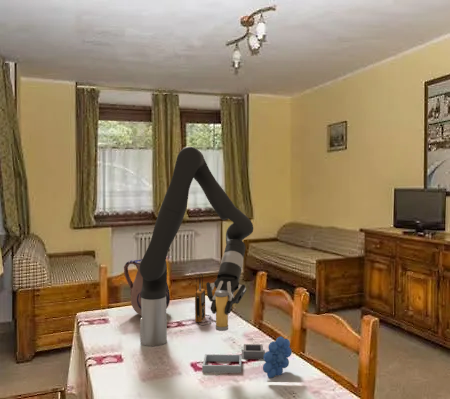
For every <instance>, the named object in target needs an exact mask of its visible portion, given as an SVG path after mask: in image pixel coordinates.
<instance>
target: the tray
mask: <svg viewBox="0 0 450 399" xmlns="http://www.w3.org/2000/svg"><path fill="white" fill-rule="evenodd" d="M207 362H237V363H238V365H235V364H234V365H233V364H231V365H230V364H229V365H227V364H224V365H223V364H222V365H221V364H220V365H219V364H207ZM201 366H202V368H201V370H202V371H201V372H202V373H220V374H221V373H225V374H226V373H227V374H228V373H229V374H231V373H232V374H237V373H238V374H241V373H242V354H221V353H220V354H215V353H212V354H211V353H209V354H207V353H205V354H204V358H203V361H202V365H201Z"/></svg>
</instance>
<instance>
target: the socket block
mask: <svg viewBox="0 0 450 399" xmlns="http://www.w3.org/2000/svg"><path fill="white" fill-rule="evenodd" d="M265 351H266V350H265V349H264V345H263V344H262V343H261V344H259V343H258V344H256V343H255V344H253V343H251V344H250V343H249V344H248V343H244V344H243V349H241V360H264V358H263V357H264V354H265V353H266V352H265Z"/></svg>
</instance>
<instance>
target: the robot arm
mask: <svg viewBox="0 0 450 399" xmlns="http://www.w3.org/2000/svg"><path fill="white" fill-rule="evenodd" d="M193 180H195V181H196V183H197V184H198V185H199V186H200V188H201V189H202V192H203V193H204V195H205V197H206V198H207V200H208V203H209V204H210V206H211V207H212V209H213V210H214V211H215V213H216V215H217V216H218V218H220V219H221V220H222V221H226V220H230V221H231V222H232V223H231V224H230V225H229V226H228V227H227V229H226V231H225V248H224V252H223V254H222V256H221V261H220V264H219V269H218V273H217V276H216V279H215V280H214V282H211V283H210V282H209V281H208V282H206V285H205V286H206V293H207V298H208V299H209V300H208V301H209V302H211V305H210V311H211V313H212V314H213V315H216V296H215V293H214V294H213V291H214V289H215V291H217V290H226V291H228V301H227V304H226V308H225V314H226V315H228V316H229V314H231V312H232V308H233V305H234V304H236V305H237V304H239V303H240V302H241V299H242V298H243V297H244V295H245V294H246V292H247V288H246V285H245V284H240V279H241V275H242V270H243V265H244V258H245V252H246V243H245V242H244V241H243V240H245V239H246V238H248V237H250V236H251V235H252V234H253V232H254V224H253V222H252V221H251V219H250V218H249V217H248V216H247V215H246V214H245V213H243V212H242V211H241V210H240V209H239V208H237V207H236V205H235V204H234V203H233V201H232V200H231V199H230V197H229V195H228V194H227V192H226V191H225V190H224V189H223V187H222V186H221V185H220V183H219V182H218V180H216V178H215V176H214V174H213V173H212V172H211V170H210V168H209V165H208V163H207V162H206V160H205V157H204V155H203V153H202V152H201V151H200V150H198V149H197V148H195V147H193V146H186V147H183V148H182V149H181V150H180V151H179V152H178V155H177V157H176V160H175V165H174V169H173V173H172V177H171V181H170V183H169V185H168V187H167V190H166V192H165V195H164V198H163V200H162V203H161V204H160V205H161V206H160V207H159V211H158V213H157V216H156V217H157V218H156V220H155V222H154V223H155V224H154V227H153V231H152V235H151V239H150V241H149V244H148V246H147V249H146V251H145V254H144V255H143V257H142V258H141V259H142V261H141V263H140V267H139V270H140V274H141V276H142V277H143V284H142V290H141V307H142V316H141V318H140V320H139V329H140V330H139V333H140V335H139V337H140V342H139V343H140V345H144V346H148V347H157V346H162V345H165V344H166V343H167V341H168V338H167V337H168V334H167V332H168V330H167V326H168V325H167V324H168V322H167V309H166V288H167V284H168V268H167V267H168V264H167V256H168V253H169V250H170V248H171V245H172V243H173V241H174V240H175V238H176V235H177V233H178V232H179V229H180V227H181V225H182V223H183V220H184V217H185V215H186V212H187V207H188V201H189V194H190V193H189V192H190V188H191V184H192V182H193ZM237 290H238V291H237ZM235 292H236V293H235ZM234 293H235V295H234Z"/></svg>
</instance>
